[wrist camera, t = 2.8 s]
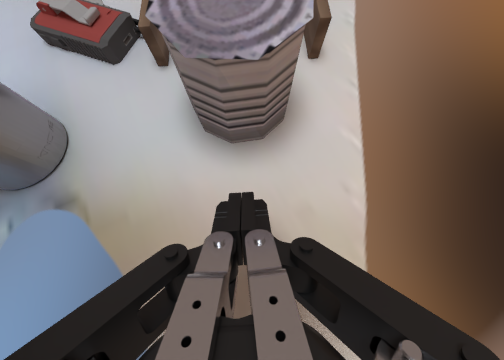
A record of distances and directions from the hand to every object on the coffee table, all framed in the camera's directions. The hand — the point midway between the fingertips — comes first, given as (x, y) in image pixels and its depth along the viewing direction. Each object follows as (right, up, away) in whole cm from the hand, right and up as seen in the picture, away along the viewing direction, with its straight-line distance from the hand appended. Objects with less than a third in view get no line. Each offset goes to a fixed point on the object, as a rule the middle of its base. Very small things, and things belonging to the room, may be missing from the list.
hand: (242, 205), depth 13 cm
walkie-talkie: (-23, +23, +17) cm, 36 cm away
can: (-1, +11, +12) cm, 16 cm away
